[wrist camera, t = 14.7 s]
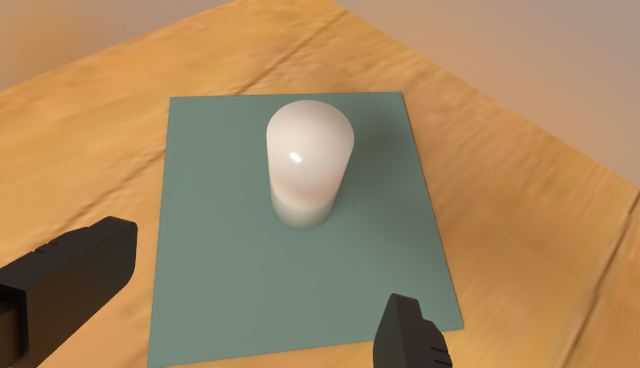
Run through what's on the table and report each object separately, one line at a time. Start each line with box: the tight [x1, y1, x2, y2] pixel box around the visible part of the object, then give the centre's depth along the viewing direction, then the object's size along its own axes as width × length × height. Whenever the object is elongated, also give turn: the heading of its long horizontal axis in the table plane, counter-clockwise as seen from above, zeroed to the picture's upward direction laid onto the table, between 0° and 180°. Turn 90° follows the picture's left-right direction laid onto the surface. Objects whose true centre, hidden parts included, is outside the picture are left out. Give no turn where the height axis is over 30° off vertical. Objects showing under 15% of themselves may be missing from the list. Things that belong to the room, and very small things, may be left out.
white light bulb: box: [266, 100, 354, 231], centre depth 22 cm, size 4×4×9 cm
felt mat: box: [147, 92, 464, 368], centre depth 26 cm, size 20×20×1 cm
